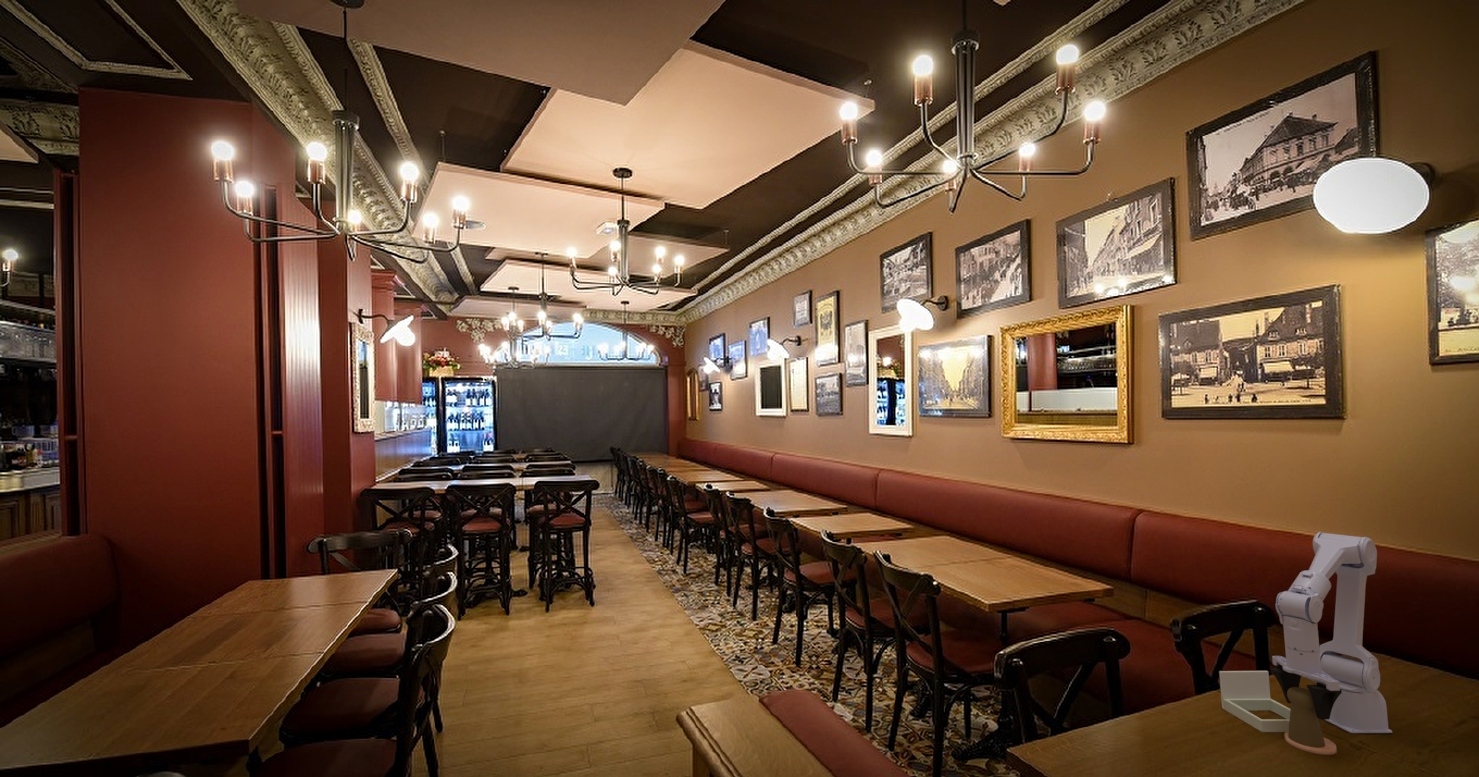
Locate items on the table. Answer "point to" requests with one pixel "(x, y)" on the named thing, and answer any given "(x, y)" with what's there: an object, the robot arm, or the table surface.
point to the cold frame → (1252, 699)
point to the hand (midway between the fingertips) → (1307, 710)
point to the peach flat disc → (1327, 750)
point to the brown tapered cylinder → (1304, 719)
